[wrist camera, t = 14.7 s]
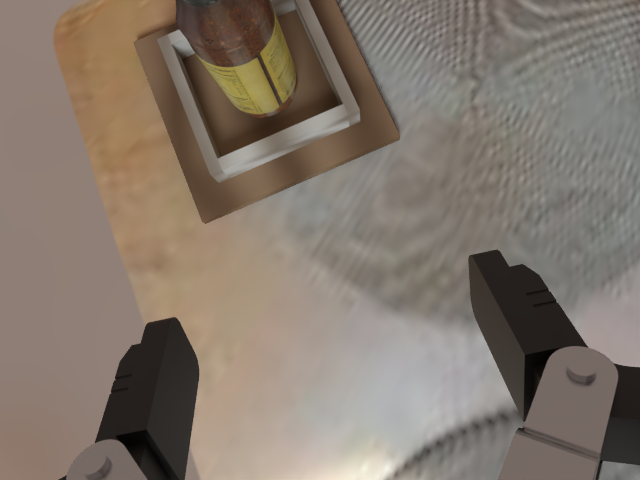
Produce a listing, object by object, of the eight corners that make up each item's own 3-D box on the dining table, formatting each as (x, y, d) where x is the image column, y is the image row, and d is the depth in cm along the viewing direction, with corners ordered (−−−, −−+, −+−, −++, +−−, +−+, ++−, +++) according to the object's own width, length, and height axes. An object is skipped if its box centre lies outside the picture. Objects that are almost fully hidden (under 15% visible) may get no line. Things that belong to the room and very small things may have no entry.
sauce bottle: (272, 40, 47) (202, -165, 27) (313, 93, 45) (272, -81, 26) (211, 84, 46) (97, -91, 27) (251, 138, 45) (163, -3, 26)
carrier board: (317, -32, 48) (313, -59, 45) (399, 139, 45) (401, 124, 42) (138, 47, 49) (120, 26, 45) (205, 223, 45) (192, 214, 42)
